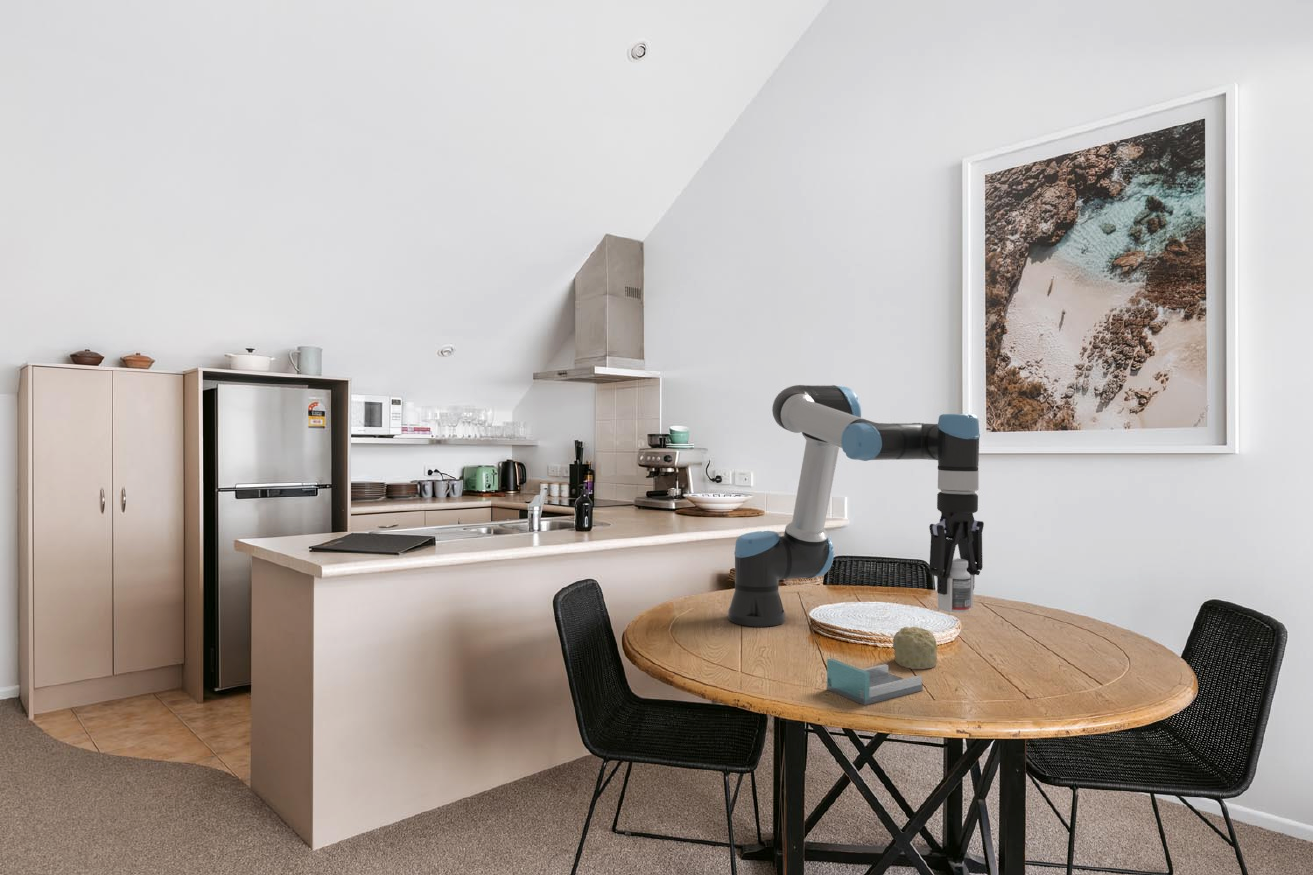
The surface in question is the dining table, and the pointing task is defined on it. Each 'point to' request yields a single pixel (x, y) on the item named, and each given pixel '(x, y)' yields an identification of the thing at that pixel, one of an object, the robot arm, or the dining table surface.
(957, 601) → the pill bottle
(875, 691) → the grey tray holder
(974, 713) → the dining table surface
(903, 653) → the decorative object
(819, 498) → the robot arm
